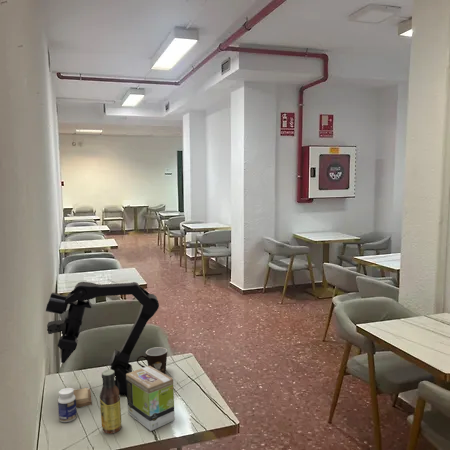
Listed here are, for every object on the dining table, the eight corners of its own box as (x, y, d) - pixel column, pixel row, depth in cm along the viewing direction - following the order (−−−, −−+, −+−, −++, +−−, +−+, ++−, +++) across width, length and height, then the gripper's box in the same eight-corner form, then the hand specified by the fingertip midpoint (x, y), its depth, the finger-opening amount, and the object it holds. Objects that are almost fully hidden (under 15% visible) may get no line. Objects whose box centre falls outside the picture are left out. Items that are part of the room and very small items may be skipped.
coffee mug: (171, 370, 182) (170, 347, 181) (163, 380, 174) (162, 356, 173) (145, 368, 185) (144, 346, 184) (136, 378, 176) (135, 354, 175)
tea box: (176, 420, 146) (174, 378, 144) (150, 432, 139) (147, 388, 137) (152, 403, 157) (149, 364, 155) (127, 413, 150) (124, 373, 149)
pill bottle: (71, 423, 145) (68, 395, 144) (55, 422, 147) (53, 394, 145) (80, 414, 151) (78, 387, 150) (65, 413, 152) (63, 385, 151)
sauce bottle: (104, 424, 144) (100, 367, 142) (123, 423, 145) (119, 366, 142) (100, 436, 138) (95, 376, 135) (120, 434, 138) (116, 375, 136)
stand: (90, 391, 166) (90, 385, 166) (91, 404, 157) (91, 398, 157) (62, 397, 163) (62, 391, 163) (62, 410, 154) (61, 404, 153)
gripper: (55, 304, 165) (45, 344, 166) (48, 320, 147) (36, 364, 148) (85, 310, 168) (75, 349, 169) (81, 326, 150) (70, 369, 151)
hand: (64, 357), depth 159 cm, fingers open, 9 cm apart
